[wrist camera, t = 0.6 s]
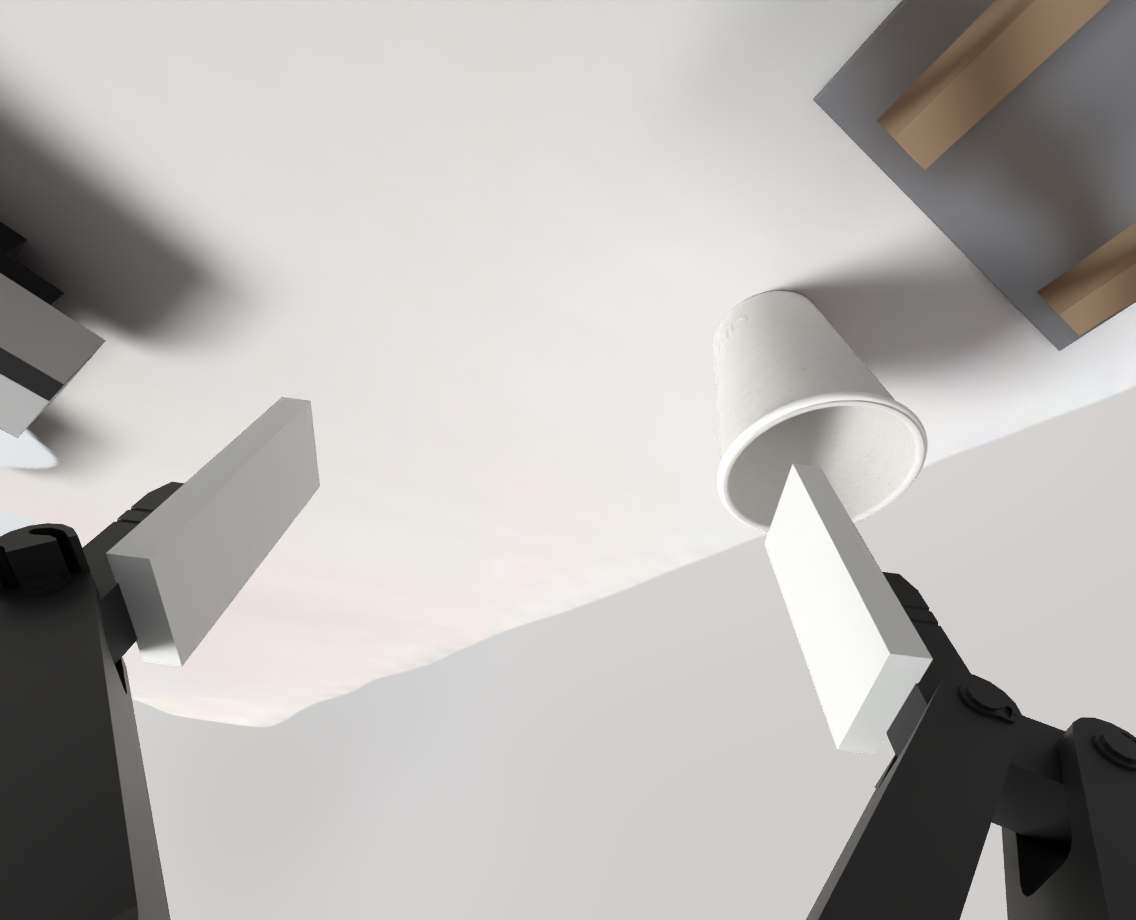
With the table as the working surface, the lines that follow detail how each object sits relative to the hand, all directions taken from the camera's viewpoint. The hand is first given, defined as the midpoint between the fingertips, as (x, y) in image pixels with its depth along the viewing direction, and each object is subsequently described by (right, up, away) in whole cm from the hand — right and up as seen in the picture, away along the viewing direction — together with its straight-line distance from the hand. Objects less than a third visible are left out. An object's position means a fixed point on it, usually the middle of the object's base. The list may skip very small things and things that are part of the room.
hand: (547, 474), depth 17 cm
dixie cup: (+11, +7, +16) cm, 20 cm away
